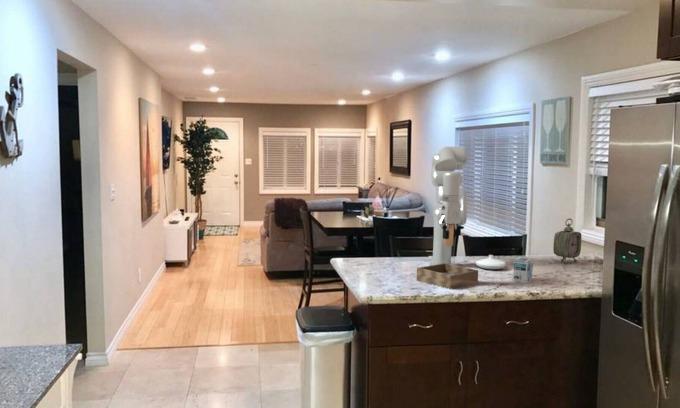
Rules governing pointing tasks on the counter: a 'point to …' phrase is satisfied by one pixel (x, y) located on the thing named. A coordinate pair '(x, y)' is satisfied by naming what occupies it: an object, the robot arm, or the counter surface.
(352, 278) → the counter surface
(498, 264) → the vase
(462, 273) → the bore box
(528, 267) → the light bulb box
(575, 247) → the tabletop clock
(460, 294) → the counter surface
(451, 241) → the peg
